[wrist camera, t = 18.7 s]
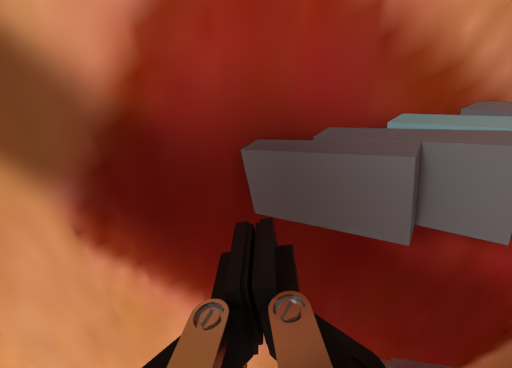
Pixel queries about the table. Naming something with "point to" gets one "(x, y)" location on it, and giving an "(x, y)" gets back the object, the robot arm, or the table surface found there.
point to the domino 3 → (455, 177)
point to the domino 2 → (451, 122)
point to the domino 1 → (337, 184)
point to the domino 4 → (488, 109)
